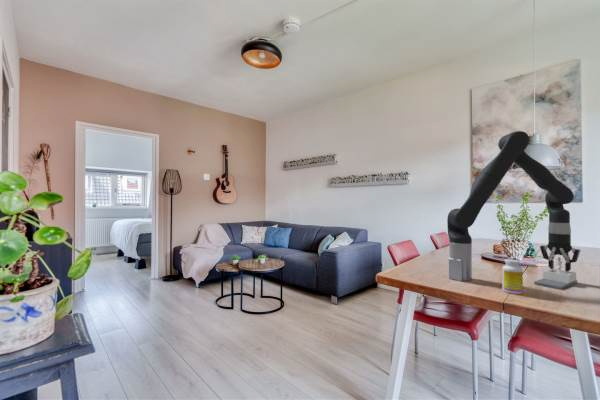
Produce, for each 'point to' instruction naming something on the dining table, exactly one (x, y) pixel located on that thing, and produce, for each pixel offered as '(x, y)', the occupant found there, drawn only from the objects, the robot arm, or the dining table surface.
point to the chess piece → (559, 265)
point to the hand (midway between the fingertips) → (559, 269)
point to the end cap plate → (557, 279)
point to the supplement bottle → (512, 277)
